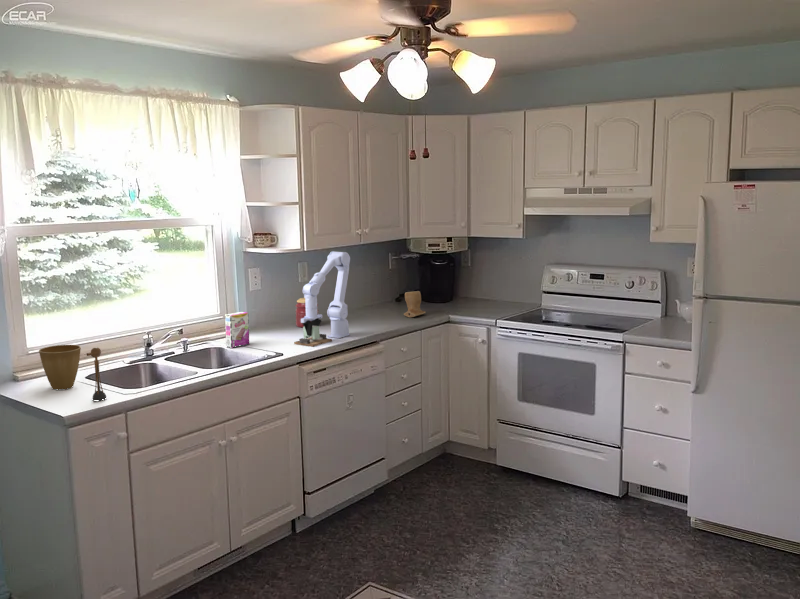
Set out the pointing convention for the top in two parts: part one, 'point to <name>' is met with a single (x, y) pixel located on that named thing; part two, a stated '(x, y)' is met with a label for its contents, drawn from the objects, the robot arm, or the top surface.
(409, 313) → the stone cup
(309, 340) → the rail board
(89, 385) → the top surface
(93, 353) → the wooden tabletop sculpture
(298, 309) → the canister
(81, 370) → the top surface
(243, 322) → the candy bar box
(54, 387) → the plant pot
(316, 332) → the module
